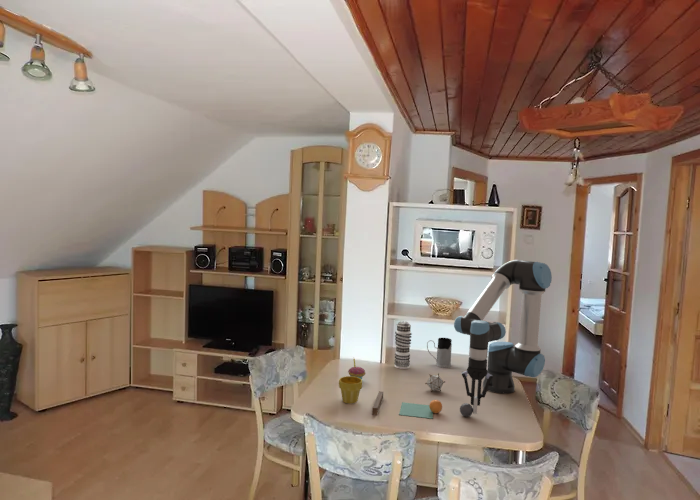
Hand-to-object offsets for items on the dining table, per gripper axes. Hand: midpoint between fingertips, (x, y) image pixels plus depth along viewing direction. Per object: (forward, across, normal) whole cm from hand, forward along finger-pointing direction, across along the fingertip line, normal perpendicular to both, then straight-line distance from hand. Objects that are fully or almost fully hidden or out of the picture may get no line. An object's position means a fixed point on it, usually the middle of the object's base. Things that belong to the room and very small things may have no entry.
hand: (474, 412), depth 207 cm
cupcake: (+2, +55, -31) cm, 64 cm away
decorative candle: (+2, +34, -62) cm, 70 cm away
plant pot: (+3, +54, -4) cm, 54 cm away
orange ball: (-1, +16, -1) cm, 16 cm away
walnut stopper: (+2, +41, -2) cm, 41 cm away
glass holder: (+2, +14, -71) cm, 72 cm away
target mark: (+2, +24, -1) cm, 24 cm away
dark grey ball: (-1, +4, 0) cm, 4 cm away
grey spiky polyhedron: (+2, +16, -28) cm, 32 cm away
